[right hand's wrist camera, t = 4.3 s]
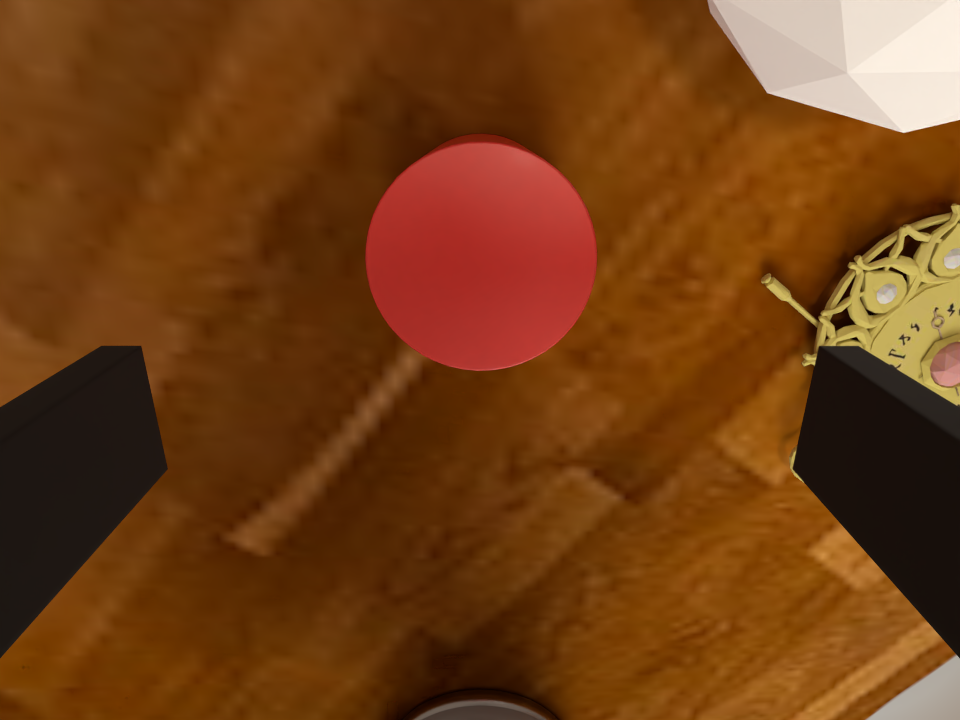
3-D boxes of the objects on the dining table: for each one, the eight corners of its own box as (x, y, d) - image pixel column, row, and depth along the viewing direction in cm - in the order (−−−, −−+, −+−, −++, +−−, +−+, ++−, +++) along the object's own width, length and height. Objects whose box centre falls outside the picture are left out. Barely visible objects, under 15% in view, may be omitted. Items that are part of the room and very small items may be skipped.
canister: (368, 214, 35) (316, 260, 24) (483, 95, 33) (486, 84, 22) (477, 324, 38) (476, 411, 26) (592, 221, 35) (644, 268, 24)
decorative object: (1174, 335, 36) (906, 566, 41) (1130, 324, 38) (882, 543, 43) (959, 97, 31) (684, 390, 36) (924, 100, 33) (670, 375, 38)
